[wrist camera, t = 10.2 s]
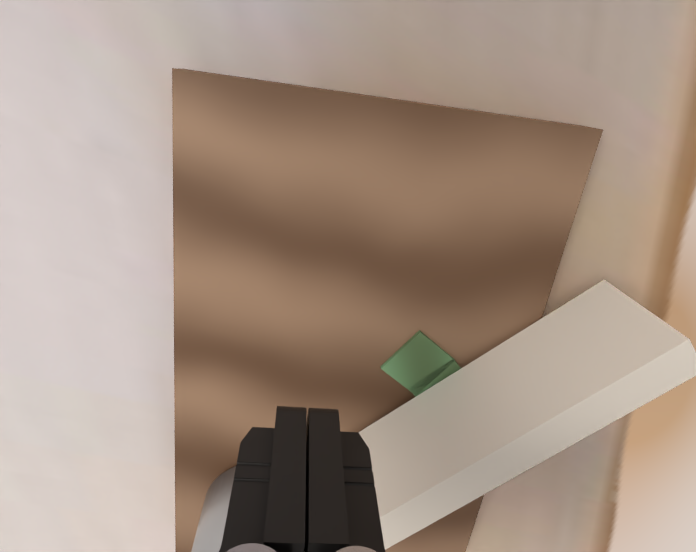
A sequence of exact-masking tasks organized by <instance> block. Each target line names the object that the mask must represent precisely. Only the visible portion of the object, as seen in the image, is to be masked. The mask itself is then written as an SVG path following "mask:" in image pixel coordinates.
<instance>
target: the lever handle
mask: <svg viewBox="0 0 696 552" xmlns="http://www.w3.org/2000/svg"><path fill="white" fill-rule="evenodd" d="M694 376H696V351H695V349H694V347H693V346H692V343H691V342H690V339H689V338H687V337H686V336H684V335H683V334H682V333H680V332H679V331H677V330H676V329H674V328H673V327H671V326H670V325H669V324H667V323H666V322H664V321H663V320H662V319H660V318H659V317H657V316H656V315H654V314H653V313H652V312H650V311H649V310H647V309H646V308H644V307H643V306H642V305H640V304H639V303H637V302H636V301H634V300H633V299H631V298H630V297H629V296H627V295H626V294H624V293H623V292H621V291H620V290H619V289H617V288H616V287H614V286H613V285H611V284H610V283H609V282H607V281H606V280H602V281H601V282H599V283H598V284H596V285H594V286H593V287H591V288H590V289H588V290H586V291H585V292H583V293H582V294H580V295H578V296H577V297H575V298H574V299H572V300H570V301H569V302H567V303H566V304H564V305H562V306H561V307H559V308H557V309H556V310H554V311H553V312H551V313H549V314H548V315H546V316H545V317H543V318H541V319H540V320H538V321H537V322H535V323H533V324H532V325H530V326H529V327H527V328H525V329H524V330H522V331H521V332H519V333H517V334H516V335H514V336H513V337H511V338H509V339H508V340H506V341H504V342H503V343H501V344H500V345H498V346H496V347H495V348H493V349H492V350H490V351H488V352H487V353H485V354H484V355H482V356H480V357H479V358H477V359H476V360H474V361H472V362H471V363H469V364H468V365H466V366H464V367H463V368H461V369H460V370H458V371H456V372H455V373H453V374H451V375H450V376H448V377H447V378H445V379H443V380H442V381H440V382H439V383H437V384H435V385H434V386H432V387H431V388H429V389H427V390H426V391H424V392H423V393H421V394H419V395H418V396H416V397H415V398H413V399H411V400H410V401H408V402H407V403H405V404H403V405H402V406H400V407H398V408H397V409H395V410H394V411H392V412H390V413H389V414H387V415H386V416H384V417H382V418H381V419H379V420H378V421H376V422H374V423H373V424H371V425H370V426H368V427H366V428H365V429H363V430H362V431H360V432H358V433H359V434H360V436H361V437H362V439H363V440H364V442H365V443H366V445H367V446H368V448H369V450H370V457H371V463H372V471H373V476H374V487H375V489H376V496H377V503H378V509H379V516H380V522H381V529H382V535H383V542H384V548H385V550H386V549H388V548H389V547H391V546H393V545H395V544H397V543H398V542H400V541H402V540H404V539H405V538H407V537H409V536H411V535H413V534H414V533H416V532H418V531H420V530H421V529H423V528H425V527H427V526H429V525H430V524H432V523H434V522H436V521H438V520H439V519H441V518H443V517H445V516H446V515H448V514H450V513H452V512H454V511H455V510H457V509H459V508H461V507H463V506H464V505H466V504H468V503H470V502H471V501H473V500H475V499H477V498H479V497H480V496H482V495H484V494H486V493H487V492H489V491H491V490H493V489H495V488H496V487H498V486H500V485H502V484H504V483H505V482H507V481H509V480H511V479H512V478H514V477H516V476H518V475H520V474H521V473H523V472H525V471H527V470H529V469H530V468H532V467H534V466H536V465H537V464H539V463H541V462H543V461H545V460H546V459H548V458H550V457H552V456H554V455H555V454H557V453H559V452H561V451H562V450H564V449H566V448H568V447H570V446H571V445H573V444H575V443H577V442H578V441H580V440H582V439H584V438H586V437H587V436H589V435H591V434H593V433H595V432H596V431H598V430H600V429H602V428H603V427H605V426H607V425H609V424H611V423H612V422H614V421H616V420H618V419H620V418H621V417H623V416H625V415H627V414H628V413H630V412H632V411H634V410H636V409H637V408H639V407H641V406H643V405H644V404H646V403H648V402H650V401H652V400H653V399H655V398H657V397H659V396H660V395H662V394H664V393H666V392H668V391H669V390H671V389H673V388H675V387H677V386H678V385H680V384H682V383H684V382H686V381H687V380H689V379H691V378H693V377H694ZM235 469H236V466H235V467H233V468H230V469H229V470H227V471H225V472H224V473H222V474H221V475H220V476H218V477H217V478H216V479H215V480H214V481H213V483H212V484H211V485H210V487H209V489H208V491H207V493H206V496H205V500H204V504H203V508H202V512H201V516H200V520H199V523H198V527H197V531H196V535H195V539H194V543H193V547H192V551H191V552H219V550H220V548H221V544H222V539H223V534H224V528H225V523H226V518H227V512H228V507H229V501H230V496H231V491H232V485H233V481H234V474H235Z"/></svg>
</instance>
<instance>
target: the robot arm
mask: <svg viewBox="0 0 696 552" xmlns="http://www.w3.org/2000/svg"><path fill="white" fill-rule="evenodd" d="M306 415H307V421H306ZM219 552H385V548H384V542H383V535H382V529H381V522H380V516H379V509H378V503H377V496H376V489H375V487H374V476H373V471H372V463H371V457H370V450H369V448H368V446H367V445H366V443H365V442H364V440H363V439H362V437H361V436H360V434H359V433H358V432H341V431H340V421H339V411H338V409H324V408H308V413H307V410H306V408H305V407H288V406H277V410H276V420H275V428H265V427H252V428H251V429H250V431H249V432H248V433H247V435H246V436H245V437H244V439H243V440H242V441H241V442H240V447H239V453H238V458H237V465H236V469H235V474H234V481H233V485H232V491H231V496H230V501H229V507H228V512H227V518H226V523H225V528H224V534H223V539H222V544H221V548H220V550H219Z"/></svg>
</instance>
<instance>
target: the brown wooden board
mask: <svg viewBox="0 0 696 552" xmlns="http://www.w3.org/2000/svg"><path fill="white" fill-rule="evenodd" d="M172 94H173V239H174V385H175V530H176V552H191V551H192V547H193V543H194V539H195V535H196V531H197V527H198V523H199V520H200V516H201V512H202V508H203V504H204V500H205V496H206V493H207V491H208V489H209V487H210V485H211V484H212V483H213V481H214V480H215V479H216V478H217V477H218V476H220V475H221V474H222V473H224V472H225V471H227V470H229V469H230V468H233V467H235V466H236V465H237V458H238V453H239V447H240V442H241V441H242V440H243V439H244V437H245V436H246V435H247V433H248V432H249V431H250V429H251V428H252V427H265V428H275V420H276V410H277V406H288V407H305V408H306V410H307V413H308V408H324V409H338V411H339V421H340V431H341V432H360V431H362V430H363V429H365V428H366V427H368V426H370V425H371V424H373V423H374V422H376V421H378V420H379V419H381V418H382V417H384V416H386V415H387V414H389V413H390V412H392V411H394V410H395V409H397V408H398V407H400V406H402V405H403V404H405V403H407V402H408V401H410V400H411V399H413V398H415V397H416V396H418V395H419V394H421V393H423V392H424V391H426V390H427V389H429V388H431V387H432V386H434V385H435V384H437V383H439V382H440V381H442V380H443V379H445V378H447V377H448V376H450V375H451V374H453V373H455V372H456V371H458V370H460V369H461V368H463V367H464V366H466V365H468V364H469V363H471V362H472V361H474V360H476V359H477V358H479V357H480V356H482V355H484V354H485V353H487V352H488V351H490V350H492V349H493V348H495V347H496V346H498V345H500V344H501V343H503V342H504V341H506V340H508V339H509V338H511V337H513V336H514V335H516V334H517V333H519V332H521V331H522V330H524V329H525V328H527V327H529V326H530V325H532V324H533V323H535V322H537V321H538V320H540V319H541V318H542V315H543V312H544V309H545V306H546V303H547V300H548V297H549V294H550V291H551V288H552V285H553V282H554V279H555V275H556V272H557V269H558V266H559V263H560V260H561V257H562V254H563V251H564V248H565V245H566V242H567V239H568V236H569V233H570V229H571V226H572V223H573V220H574V217H575V214H576V211H577V208H578V205H579V202H580V199H581V196H582V193H583V190H584V187H585V184H586V180H587V177H588V174H589V171H590V168H591V165H592V162H593V159H594V156H595V153H596V150H597V147H598V144H599V141H600V138H601V135H602V131H603V130H602V129H596V128H591V127H586V126H579V125H572V124H565V123H558V122H551V121H544V120H537V119H530V118H523V117H516V116H509V115H502V114H495V113H488V112H481V111H474V110H467V109H460V108H453V107H446V106H439V105H432V104H425V103H418V102H411V101H404V100H397V99H390V98H383V97H376V96H369V95H362V94H355V93H348V92H341V91H334V90H327V89H320V88H313V87H306V86H299V85H292V84H285V83H278V82H271V81H264V80H257V79H250V78H243V77H236V76H229V75H222V74H215V73H208V72H201V71H194V70H187V69H174V68H172ZM306 421H307V415H306ZM483 496H484V495H482V496H480V497H479V498H477V499H475V500H473V501H471V502H470V503H468V504H466V505H464V506H463V507H461V508H459V509H457V510H455V511H454V512H452V513H450V514H448V515H446V516H445V517H443V518H441V519H439V520H438V521H436V522H434V523H432V524H430V525H429V526H427V527H425V528H423V529H421V530H420V531H418V532H416V533H414V534H413V535H411V536H409V537H407V538H405V539H404V540H402V541H400V542H398V543H397V544H395V545H393V546H391V547H389V548H388V549H386V550H385V552H465V551H466V548H467V545H468V542H469V539H470V536H471V533H472V530H473V527H474V524H475V520H476V517H477V514H478V511H479V508H480V505H481V502H482V499H483Z"/></svg>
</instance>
